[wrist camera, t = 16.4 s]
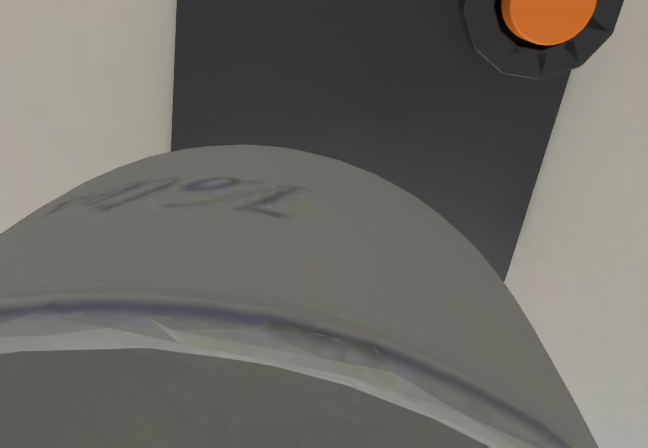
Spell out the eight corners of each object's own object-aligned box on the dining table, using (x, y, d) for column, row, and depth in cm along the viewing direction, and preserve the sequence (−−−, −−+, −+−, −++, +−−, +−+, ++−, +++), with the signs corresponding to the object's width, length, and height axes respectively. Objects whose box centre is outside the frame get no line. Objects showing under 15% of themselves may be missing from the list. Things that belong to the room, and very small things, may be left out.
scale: (613, -66, 24) (649, -74, 21) (508, 269, 31) (523, 301, 28) (194, -131, 25) (166, -149, 22) (178, 211, 31) (155, 237, 28)
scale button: (594, -37, 22) (610, -39, 20) (568, 47, 23) (582, 51, 22) (513, -50, 22) (523, -53, 21) (491, 34, 23) (499, 38, 22)
